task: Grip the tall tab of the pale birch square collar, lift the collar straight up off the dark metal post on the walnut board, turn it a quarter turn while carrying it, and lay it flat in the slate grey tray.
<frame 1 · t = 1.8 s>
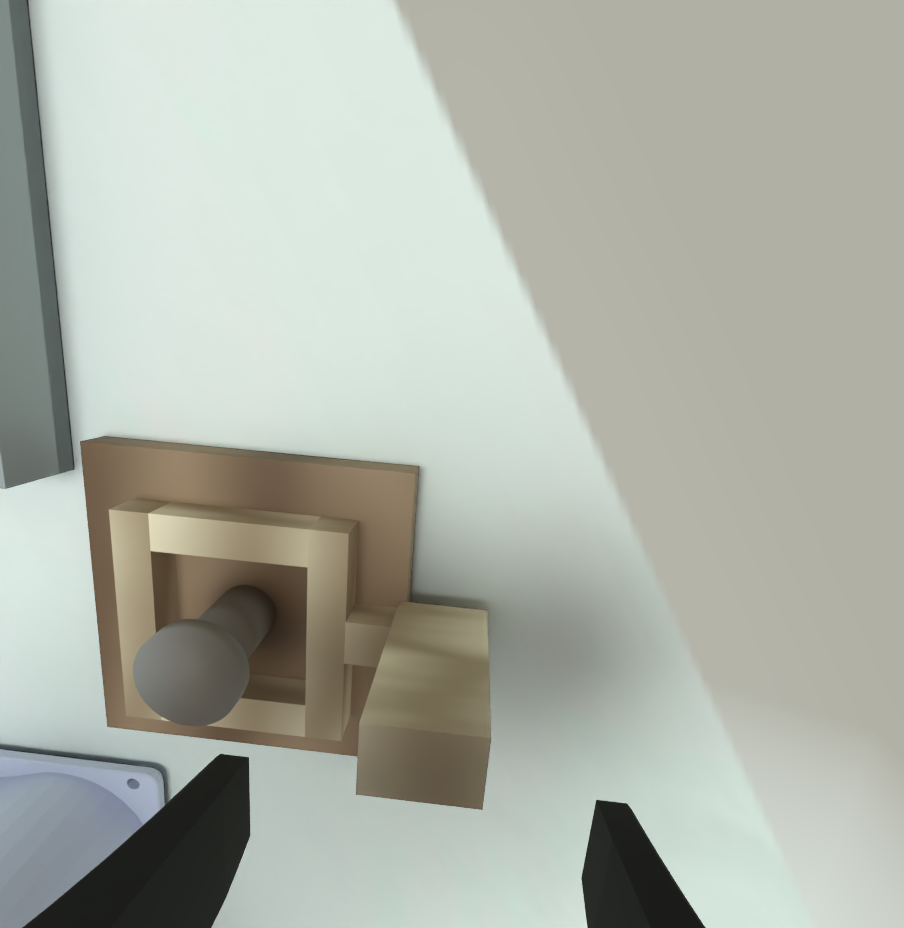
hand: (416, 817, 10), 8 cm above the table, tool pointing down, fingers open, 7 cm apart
collar: (247, 611, 17), point 1 cm above the table, touching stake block
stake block: (260, 597, 18), on the table
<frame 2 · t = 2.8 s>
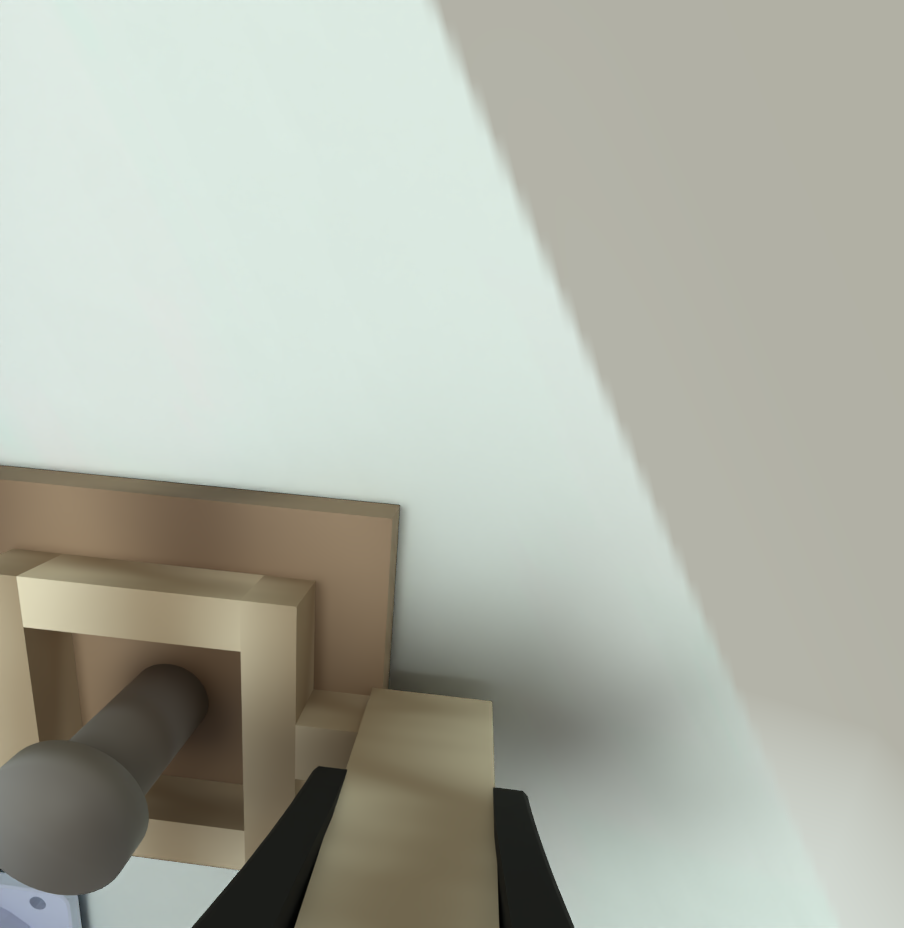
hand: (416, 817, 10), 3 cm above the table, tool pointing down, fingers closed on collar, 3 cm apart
collar: (170, 697, 12), point 1 cm above the table, touching gripper, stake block
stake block: (193, 672, 13), on the table
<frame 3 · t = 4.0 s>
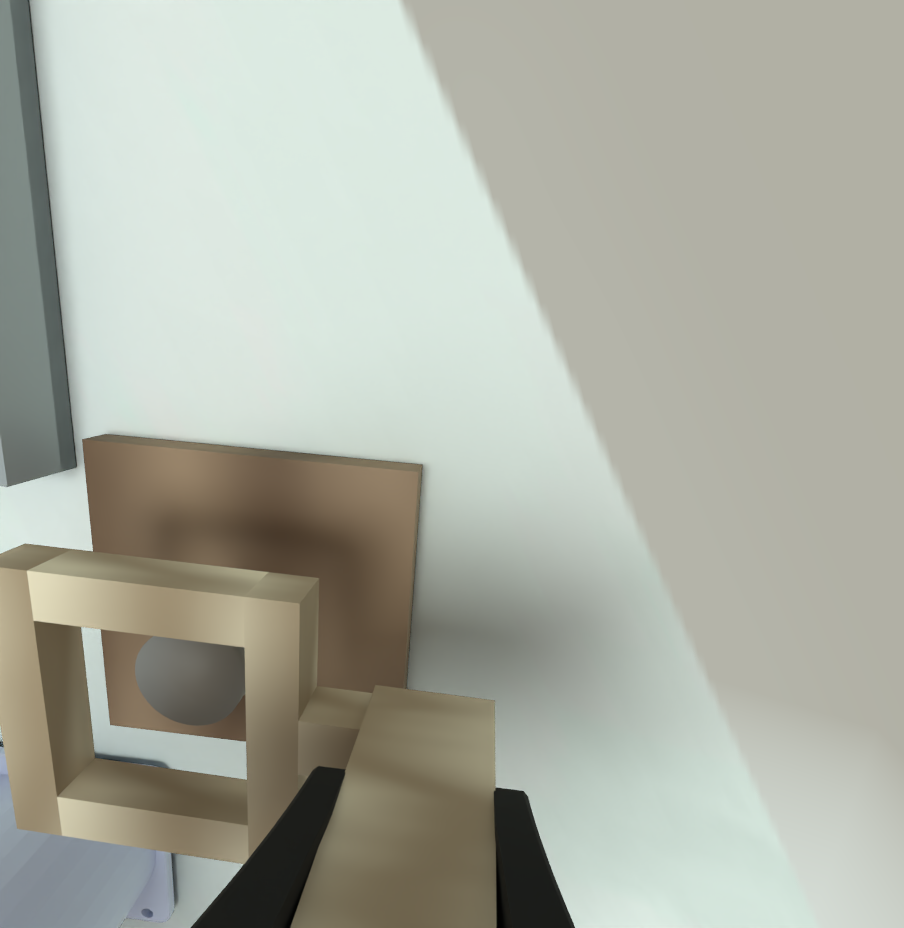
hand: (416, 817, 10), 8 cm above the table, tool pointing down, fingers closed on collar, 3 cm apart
collar: (176, 692, 13), point 5 cm above the table, touching gripper
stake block: (263, 595, 18), on the table
when the fingers open (4 cm above the table, at t = 7.9 s): collar stays where it is, resting on tray.
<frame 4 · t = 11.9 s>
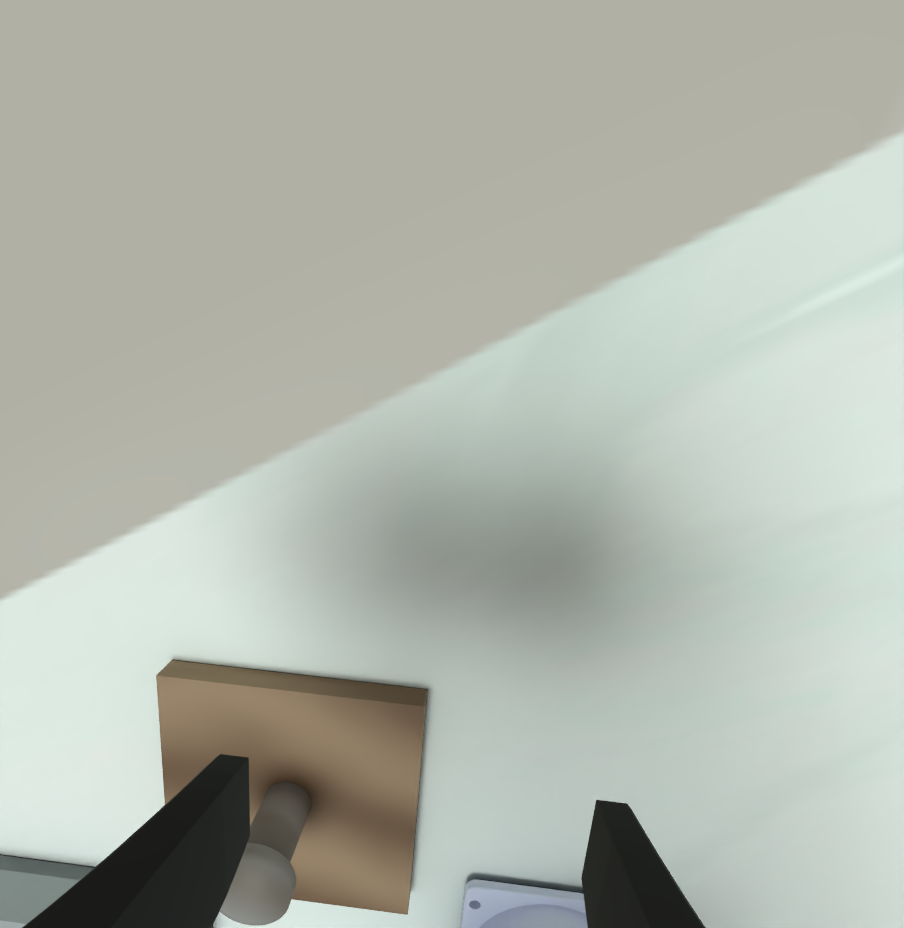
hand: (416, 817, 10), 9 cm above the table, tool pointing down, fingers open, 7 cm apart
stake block: (297, 780, 21), on the table
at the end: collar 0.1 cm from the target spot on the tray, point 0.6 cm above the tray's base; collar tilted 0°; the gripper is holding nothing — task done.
